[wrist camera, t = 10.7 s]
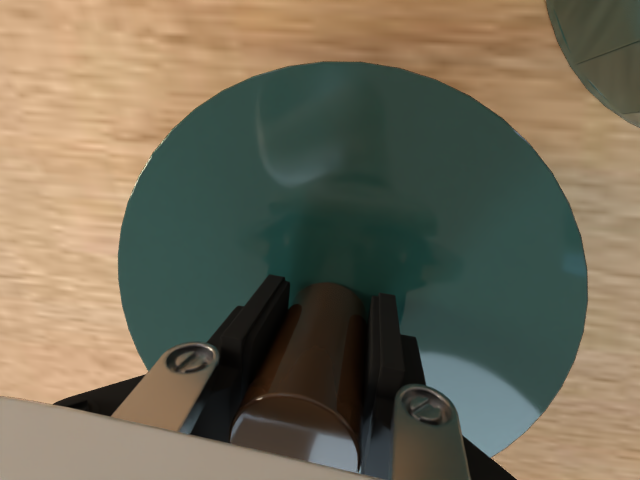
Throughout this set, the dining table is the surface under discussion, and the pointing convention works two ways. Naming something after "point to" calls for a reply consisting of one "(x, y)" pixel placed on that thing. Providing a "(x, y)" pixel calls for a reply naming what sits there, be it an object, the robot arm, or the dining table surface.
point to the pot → (602, 49)
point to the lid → (358, 251)
